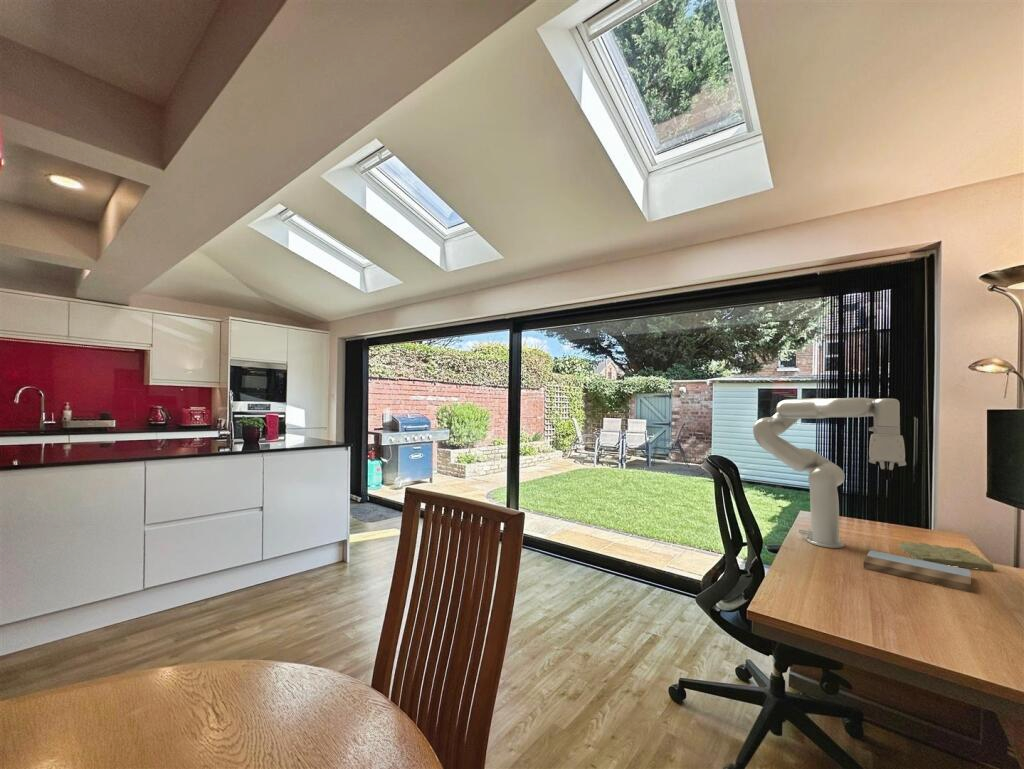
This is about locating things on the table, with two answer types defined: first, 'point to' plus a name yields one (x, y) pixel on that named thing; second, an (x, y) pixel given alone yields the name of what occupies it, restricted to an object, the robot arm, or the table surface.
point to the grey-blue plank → (920, 563)
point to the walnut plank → (919, 573)
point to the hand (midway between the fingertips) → (887, 479)
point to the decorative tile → (945, 555)
